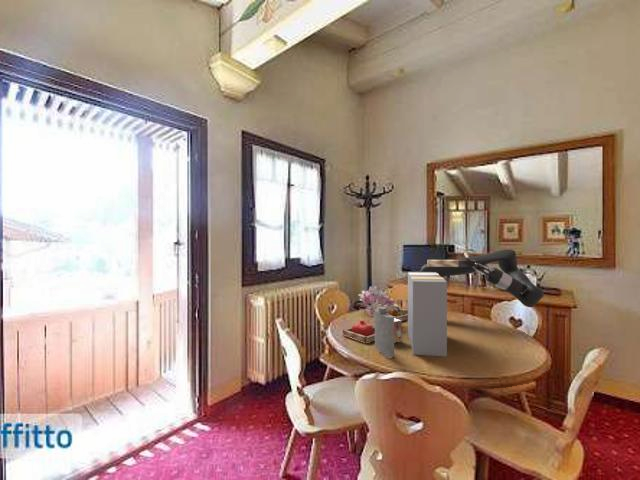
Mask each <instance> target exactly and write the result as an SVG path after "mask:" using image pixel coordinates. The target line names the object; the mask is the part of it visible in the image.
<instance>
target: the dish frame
mask: <svg viewBox="0 0 640 480" xmlns="http://www.w3.org/2000/svg"><path fill="white" fill-rule="evenodd" d="M352 327H353V326H351V327H347V328H344V329H342V335H343V334H344V335H346V336H349V337H352V338H355V339H357V340H360V341H363V342H367V343H369V342H372V341H375V334H373V335H370V336H367V337H366V336H363V335H360V334H357V333H354V332H352ZM372 328H373V332H374V333H375V327H373V326H372ZM367 343H366V344H367ZM372 343H373V342H372ZM369 344H370V343H369Z"/></svg>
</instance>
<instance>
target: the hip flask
mask: <svg viewBox="0 0 640 480" xmlns="http://www.w3.org/2000/svg"><path fill="white" fill-rule="evenodd" d="M386 310H387V308H386V307H379V308H378V309H375V320H374V324H375V342H374V348H375V347H376V348H377V349H378V350H379V351H380V352H381V353H382V354H384V355H385V356H387V357H391V358H390V359H393V358H392V357H394V358H395V343H394V316H392V315H389V314H387V313H386ZM376 348H375V349H376ZM377 349H376V350H377ZM378 350H377V351H378ZM379 351H378V352H379ZM380 352H379V353H380ZM381 353H380V354H381ZM382 354H381V355H382ZM384 355H383V356H384ZM385 356H384V357H385ZM387 357H386V358H387Z"/></svg>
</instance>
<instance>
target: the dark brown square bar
mask: <svg viewBox="0 0 640 480" xmlns="http://www.w3.org/2000/svg"><path fill="white" fill-rule="evenodd" d="M465 261H466V260H457V259H427V263H426V264H427V266H428V267H473V266H470V265H468V264H466V263H465ZM471 261H473V262H474V263H476V260H471Z"/></svg>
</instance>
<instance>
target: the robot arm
mask: <svg viewBox="0 0 640 480" xmlns="http://www.w3.org/2000/svg"><path fill="white" fill-rule="evenodd" d="M516 253H517V252H516V251H515V250H514V249H507V248H506V249H502V250H497V251H493V252H490V253H485V254H481V255H475V256H469V257H461V258H458V259H456V260H466V261H465V263H466V264H468V265H470V266H473V267H428V266H427V263H425V264H424V265H422V267H421V268H420V270H419V272H436V273H437V274H439V275H440V276H441V277H442V278H444V277H450V276H451V277H452V276H453V277H454V276H463V275H469V274H474V273H476V272H479V274H481V275H484V276H485V277H484V279H485V281H486V282H488V283H489V284H491V285H493V286H495V287H497V288H498V289H500V290H503V291H505V292H507V293H509V294H510V295H512V296H514V298H516V299H517V300H518V301H519V302H520V303H521V304H522V305H523V306H524V307H527V308H533V307H535V306H536V305H537V304H538V303H539V301H540V300H542V298H543V297H544V295H545V294H544V291H543V289H542V288H540V287H539V286H537V285H535V284H534V283H533V282H531V280H530V279H529V277H528V275H526V274H525V273H524V272H521V271H520V270H519V267H518V260H517V257H518V256H517V254H516ZM471 260H476V263H474V262H473V261H471ZM494 262H497V264H498V267H499V269H498V268H497V267H495V266H494V267H491V268H489V267H487V266H486V265H488V264H490V263H494Z"/></svg>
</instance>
